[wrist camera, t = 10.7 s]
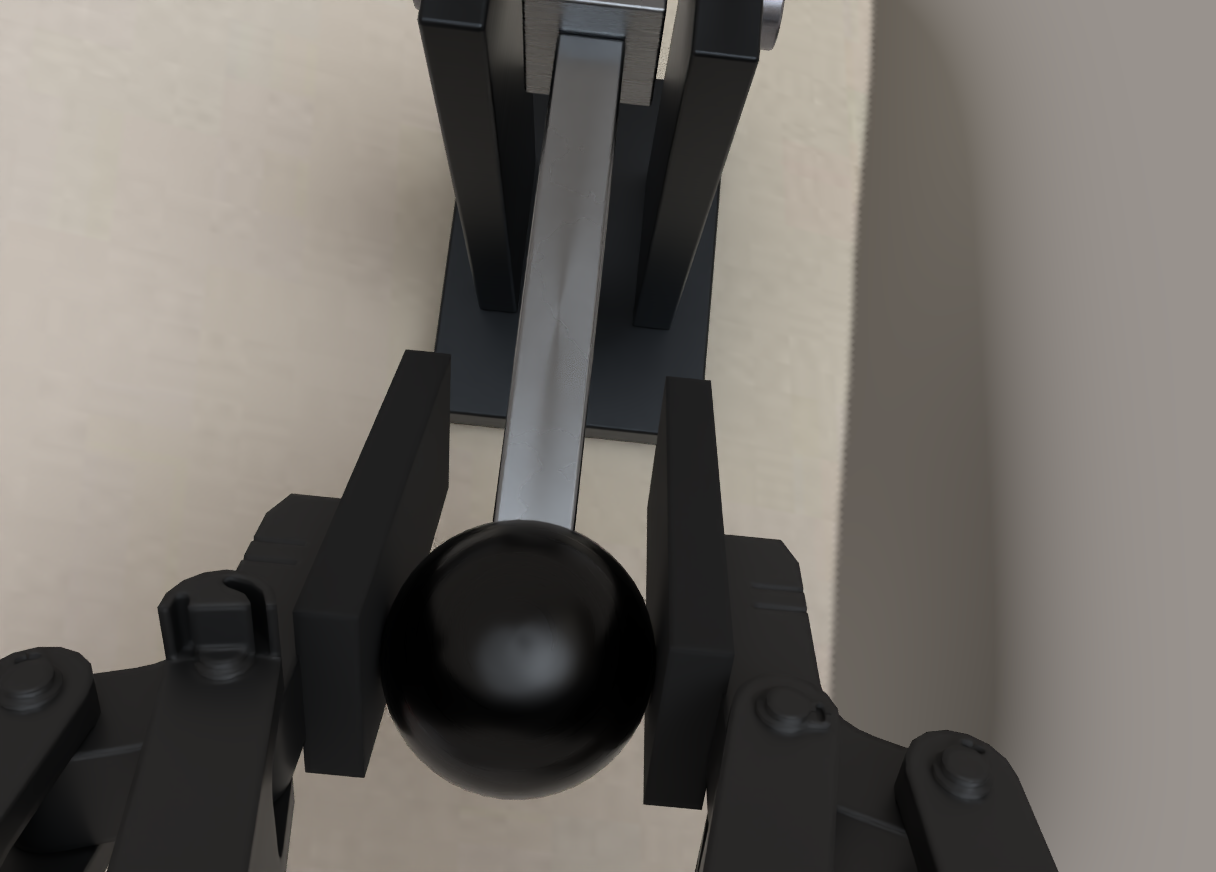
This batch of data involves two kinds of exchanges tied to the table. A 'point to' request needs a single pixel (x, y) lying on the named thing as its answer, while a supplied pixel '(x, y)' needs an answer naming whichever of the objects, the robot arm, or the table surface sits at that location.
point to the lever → (540, 476)
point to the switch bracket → (638, 209)
